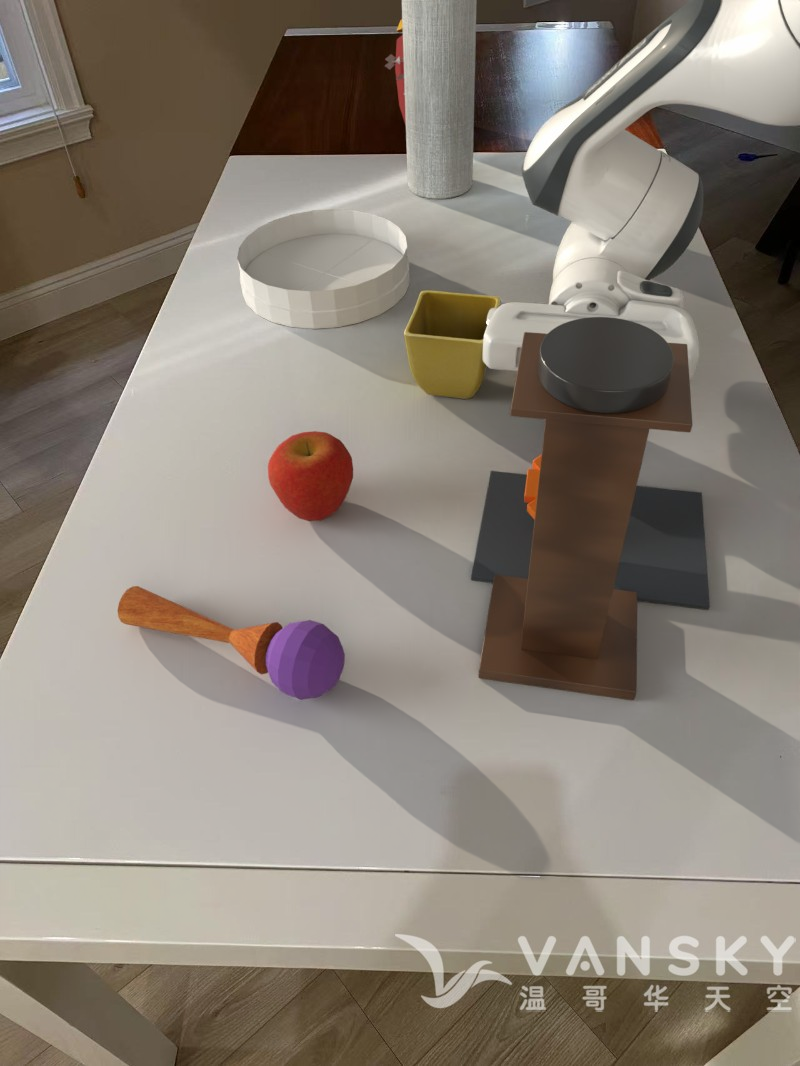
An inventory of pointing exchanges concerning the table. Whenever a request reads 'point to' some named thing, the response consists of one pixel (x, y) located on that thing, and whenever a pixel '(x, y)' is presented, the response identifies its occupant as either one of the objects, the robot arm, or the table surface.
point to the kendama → (251, 642)
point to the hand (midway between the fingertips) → (584, 392)
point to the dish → (324, 268)
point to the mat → (648, 551)
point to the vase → (439, 95)
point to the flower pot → (448, 342)
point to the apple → (311, 474)
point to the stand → (583, 503)
